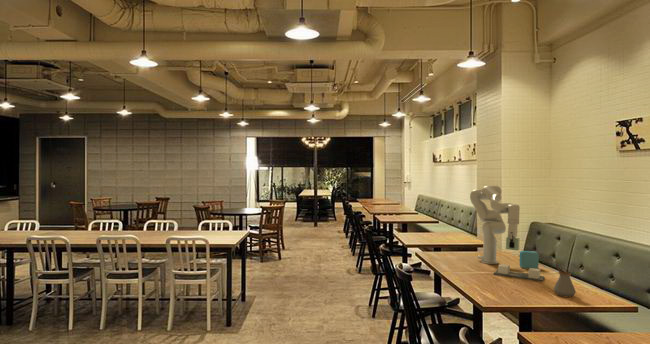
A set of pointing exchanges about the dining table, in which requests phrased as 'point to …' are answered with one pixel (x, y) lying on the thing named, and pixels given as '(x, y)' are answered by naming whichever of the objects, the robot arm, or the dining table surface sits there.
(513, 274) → the rail plate
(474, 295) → the dining table surface
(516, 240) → the module block
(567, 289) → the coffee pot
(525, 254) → the data package
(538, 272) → the mounted modules
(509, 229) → the robot arm
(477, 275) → the dining table surface
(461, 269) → the dining table surface
